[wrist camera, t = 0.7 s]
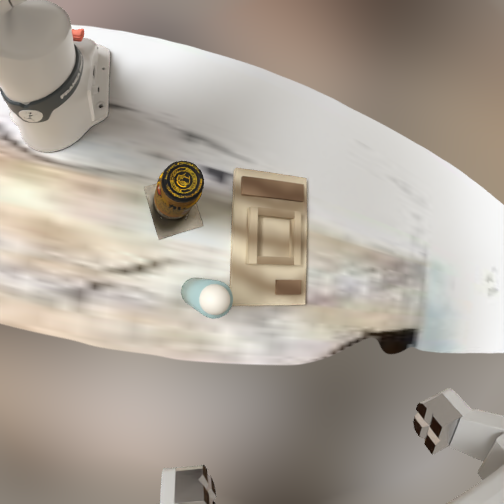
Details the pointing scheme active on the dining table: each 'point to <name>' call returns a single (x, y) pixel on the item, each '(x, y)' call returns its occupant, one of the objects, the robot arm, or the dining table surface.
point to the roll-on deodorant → (208, 296)
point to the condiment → (176, 199)
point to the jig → (268, 239)
